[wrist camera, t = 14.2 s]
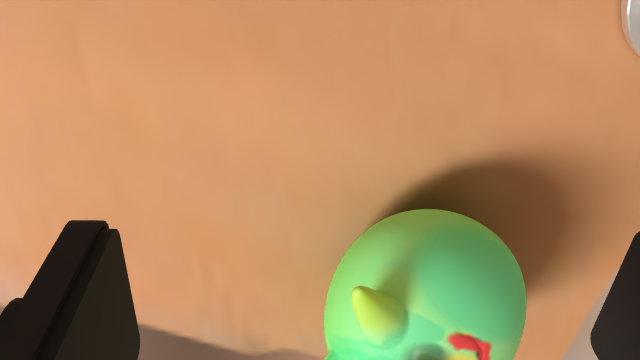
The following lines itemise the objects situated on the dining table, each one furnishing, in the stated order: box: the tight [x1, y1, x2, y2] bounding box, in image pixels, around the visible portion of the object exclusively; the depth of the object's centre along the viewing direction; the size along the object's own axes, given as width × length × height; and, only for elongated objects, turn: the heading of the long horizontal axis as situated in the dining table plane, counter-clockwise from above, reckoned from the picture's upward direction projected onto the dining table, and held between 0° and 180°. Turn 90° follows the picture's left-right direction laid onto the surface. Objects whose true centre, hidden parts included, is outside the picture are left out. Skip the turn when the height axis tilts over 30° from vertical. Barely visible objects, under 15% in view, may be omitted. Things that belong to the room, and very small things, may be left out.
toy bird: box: [324, 209, 526, 360], centre depth 43 cm, size 18×17×15 cm
